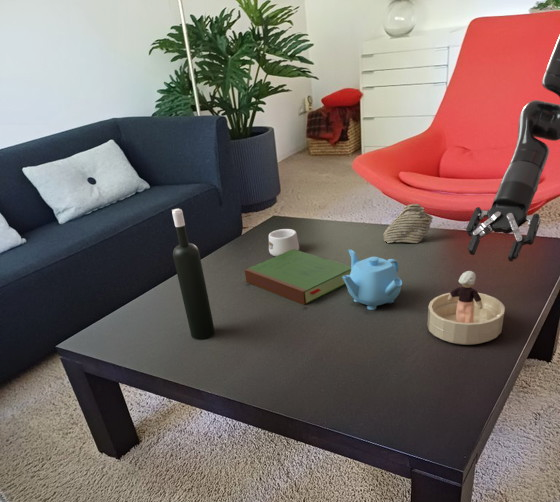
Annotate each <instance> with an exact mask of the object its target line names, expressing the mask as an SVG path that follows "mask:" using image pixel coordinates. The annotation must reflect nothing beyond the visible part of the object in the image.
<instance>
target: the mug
mask: <svg viewBox="0 0 560 502" xmlns="http://www.w3.org/2000/svg"><path fill="white" fill-rule="evenodd" d="M292 249H295V250H298V251H300V245H299V239H298V234H297V231H296V230H294V229H291V228H281V229H276V230H273V231H271V232H269V234H268V253H269V254H270V255H271V256H274V257H276V256H278V255H281V254H283V253H285V252H288V251H290V250H292Z"/></svg>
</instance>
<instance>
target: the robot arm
mask: <svg viewBox="0 0 560 502" xmlns="http://www.w3.org/2000/svg"><path fill="white" fill-rule="evenodd" d="M541 85H542V87H543V88H544V89H545V90H547V91H549V92H551V93H552V94H555V95H556V96H558V98H560V35H559V36H558V39H557V41H556V44H555V46H554V48H553V51H552V53H551V56H550V59H549V62H548V64H547V67H546V70H545V72H544V75H543V77H542V81H541ZM517 126H518V127H517V128H518V129H517V139H516V145H515V149H514V152H513V154H512V157H511V159H510V162H509V165H508V167H507V169H506V170H505V172H504V174H503V177H502V179H501V182H500V184H499V186H498V189H497V191H496V193H495V197H494V199H493V201H492V204H491V207H490V208H489V209H488V210H484V209H481V207H480V206H477V207H475V209H474V211H473V212H472V215H471V217H470V219H469V221H468V223H467V226H466V228H465V231H466V233H467V235H468V236H469V237H471V238H470V241H469V244H468V246H467V250H468V252H469V254H470V255H472V256H475V255H476V252H477V249H478V247H479V245H480V243H481V240H480V239H482V238H483V237H485V236H486V235H489V234H491V233H493V232H494V233H503V234H506V235H509V234H513V237H514V238H515V240H514V241H513V242H512V246H511V248H510V251H509V253H508V256H507V260H508V262H514V261H515V260H517V259H518V258H519V255H520V252H521V250H522V247H523V246H525V245H529V246H532V245H533V244H534V243H535V240H536V236H537V234H538V230H539V227H540V225H541V217H540V214H539V213H534V214H533V215H528V212H529V211H530V208H531V204H532V202H533V199H534V197H535V194H536V193H537V191H538V188H539V184H540V181H541V176H542V173H543V172H544V169H545V166H546V163H547V161H548V158H549V157H550V156H549V155H550V147H549V146H548V144H546V143H545V142H544V141H542V140H546V141H551V142H556V141H559V140H560V104H559V103H553V102H548V101H544V100H538V99H535V100H530V101H529V102H527V104H526V105H525V106H523V108H522V110H521V111H520V115H519V118H518V125H517ZM541 139H542V140H541ZM484 218H487V219H486V220H485V221H484V222H482V223H481V224H480V222H481V221H483V220H484ZM526 223H527V224H528V226H529V227H528V229H527V233H526V235H525V236H523V235H522V234H521V230H520V227H522V226H523V225H524V224H526ZM479 224H480V225H479Z"/></svg>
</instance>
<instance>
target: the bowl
mask: <svg viewBox="0 0 560 502" xmlns="http://www.w3.org/2000/svg"><path fill="white" fill-rule="evenodd" d="M478 294H479V296H480V298H481V302H482V306H483V308H482V309H478V305H477V303H476V301H475V300H474V298H473V300H474V323H462V322H457V321H456V310H457V303H458V299H459V297H454V298H453V299H452V301H449V300H448V297H449V295H450V292H446V293H443V294H440V295H438V296H435V297H434V298H433V299H432V300H430V302H429V304H428V307H427V328H428V331H429V332H430V333H431V334H432V335H433V336H434V337H436V338H439V340H442V341H445V342H448V343H451V344H455V345H465V346H468V345H469V346H470V345H471V346H472V345H480V344H483V343H486V342H487V343H488V342H491V341H492V340H494V339H497V338H498V337H499V336H500V334H501V333H502V331H503V323H504V316H505V312H506V311H505V310H506V307H505V305H504V304H503V302H502V301H500V300H499V299H498V298H497V297H495V296H491V295H489V294H486V293H482V292H478Z"/></svg>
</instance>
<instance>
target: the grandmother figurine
mask: <svg viewBox="0 0 560 502" xmlns="http://www.w3.org/2000/svg"><path fill="white" fill-rule="evenodd" d="M476 275H477V274H476V273H475V271H472V270H467V271H464V272H463V273H462V274H461V275H460V276H459V279H458V280H457V281H458V283H459V284H460V285H461V286H458V287H455V288H454V289H453V290H451V291H450V292H449V293H450V295H449V297H448V300H449V301H452V299H453V298H454V297H459V299H458V303H457V310H456V321H457V322H462V323H474V300H475V301H476V303H477V305H478V309H482V308H483V306H482V302H481V298H480V296H479V294H478V293H479V292H478V291H477V290H476V289H475V288H473V287H474V285H475V283H476V279H477V277H476ZM473 298H474V300H473Z"/></svg>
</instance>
